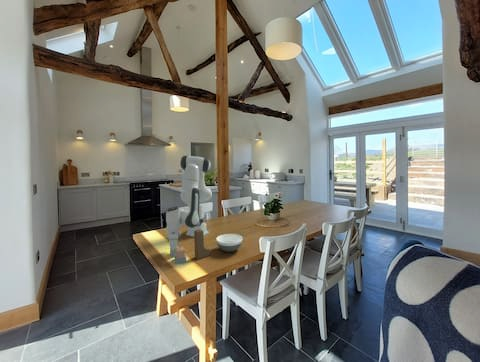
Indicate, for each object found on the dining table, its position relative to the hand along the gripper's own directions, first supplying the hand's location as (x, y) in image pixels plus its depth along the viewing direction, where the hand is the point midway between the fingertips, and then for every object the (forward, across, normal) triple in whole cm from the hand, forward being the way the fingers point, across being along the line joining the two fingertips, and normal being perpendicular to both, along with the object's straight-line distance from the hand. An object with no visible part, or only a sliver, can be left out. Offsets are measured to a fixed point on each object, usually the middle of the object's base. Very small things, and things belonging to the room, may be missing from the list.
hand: (174, 251), depth 152 cm
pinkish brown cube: (0, +10, +4) cm, 11 cm away
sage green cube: (+2, 0, 0) cm, 2 cm away
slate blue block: (+2, +10, +4) cm, 11 cm away
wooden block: (+2, +8, +18) cm, 20 cm away
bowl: (+2, +1, +37) cm, 37 cm away
